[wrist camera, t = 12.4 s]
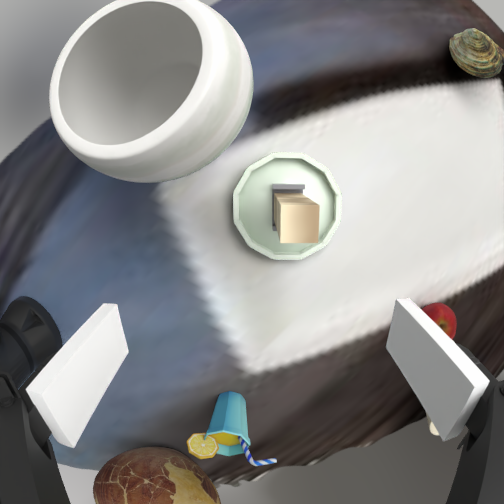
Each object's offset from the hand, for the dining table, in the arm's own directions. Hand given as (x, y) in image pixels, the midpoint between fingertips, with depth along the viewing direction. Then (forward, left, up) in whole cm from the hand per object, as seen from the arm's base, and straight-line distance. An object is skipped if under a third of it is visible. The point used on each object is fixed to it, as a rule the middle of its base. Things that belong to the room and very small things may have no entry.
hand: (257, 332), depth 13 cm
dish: (+4, +2, -28) cm, 28 cm away
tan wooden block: (+4, +2, -27) cm, 27 cm away
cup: (-4, -33, -28) cm, 43 cm away
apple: (+29, -16, -28) cm, 43 cm away
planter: (-8, +14, -28) cm, 32 cm away
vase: (-21, -55, -28) cm, 65 cm away
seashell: (+36, +29, -28) cm, 54 cm away
